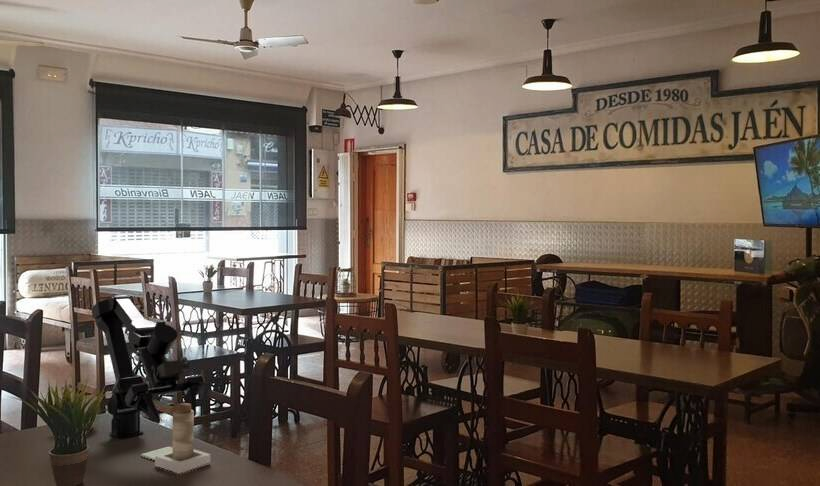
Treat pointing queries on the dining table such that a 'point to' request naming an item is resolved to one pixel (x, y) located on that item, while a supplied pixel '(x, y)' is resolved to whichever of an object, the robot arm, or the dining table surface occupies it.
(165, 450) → the rubber mat
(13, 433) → the dining table surface
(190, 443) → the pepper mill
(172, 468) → the pocket holder
